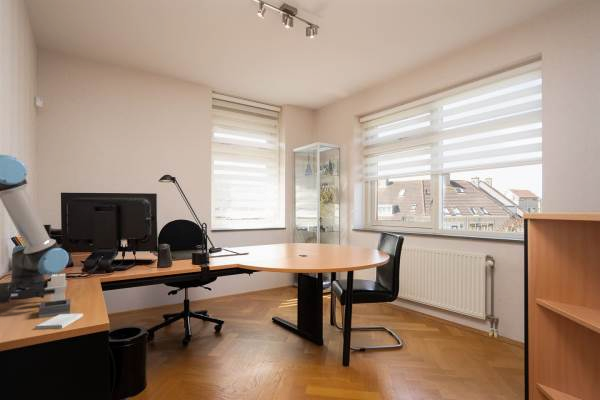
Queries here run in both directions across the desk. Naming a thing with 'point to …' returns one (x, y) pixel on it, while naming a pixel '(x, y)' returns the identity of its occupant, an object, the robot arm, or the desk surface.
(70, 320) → the hard drive
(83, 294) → the desk surface
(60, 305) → the socket dock
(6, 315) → the desk surface
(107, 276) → the desk surface
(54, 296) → the block
